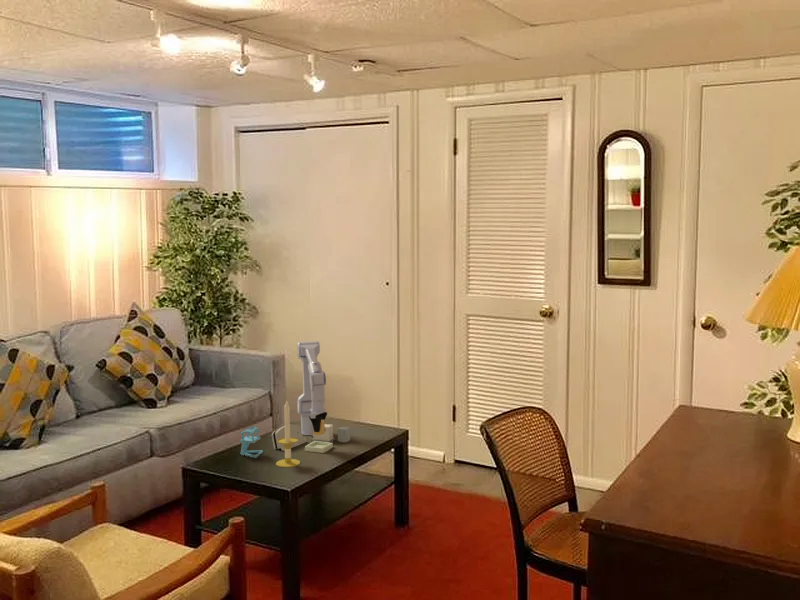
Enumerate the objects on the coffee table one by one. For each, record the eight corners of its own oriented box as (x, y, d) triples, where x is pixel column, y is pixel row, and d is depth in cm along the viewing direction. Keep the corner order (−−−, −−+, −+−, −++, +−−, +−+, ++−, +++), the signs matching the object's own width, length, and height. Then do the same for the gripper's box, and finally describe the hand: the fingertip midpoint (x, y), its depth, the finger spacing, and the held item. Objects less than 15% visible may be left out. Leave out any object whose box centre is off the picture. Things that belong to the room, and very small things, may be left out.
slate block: (341, 439, 360) (341, 426, 359) (349, 440, 359) (349, 427, 358) (338, 441, 356) (337, 428, 356) (346, 442, 355) (345, 429, 354)
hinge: (282, 451, 343) (275, 428, 344) (274, 453, 345) (268, 430, 346) (307, 441, 357) (301, 420, 357) (299, 443, 359) (293, 422, 360)
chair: (245, 451, 343) (244, 424, 342) (263, 452, 341) (262, 425, 340) (237, 456, 336) (236, 429, 334) (255, 458, 334) (254, 430, 332)
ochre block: (324, 432, 346) (324, 419, 345) (321, 435, 342) (321, 421, 342) (316, 432, 347) (315, 418, 346) (313, 434, 343) (312, 421, 342)
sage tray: (314, 445, 351) (314, 440, 351) (332, 447, 348) (332, 442, 348) (304, 450, 343) (304, 446, 343) (323, 453, 340) (323, 448, 339)
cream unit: (317, 437, 362) (317, 422, 362) (335, 439, 359) (334, 424, 358) (311, 441, 357) (310, 425, 356) (329, 443, 354) (328, 427, 353)
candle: (301, 466, 322) (299, 401, 319) (276, 468, 320) (274, 403, 317) (299, 458, 332) (298, 396, 329) (275, 460, 330) (273, 397, 327)
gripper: (315, 395, 351) (315, 425, 352) (303, 403, 337) (304, 434, 338) (330, 396, 349) (330, 426, 351) (319, 404, 335) (319, 435, 337)
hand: (318, 430), depth 345 cm, fingers closed on ochre block, 4 cm apart
